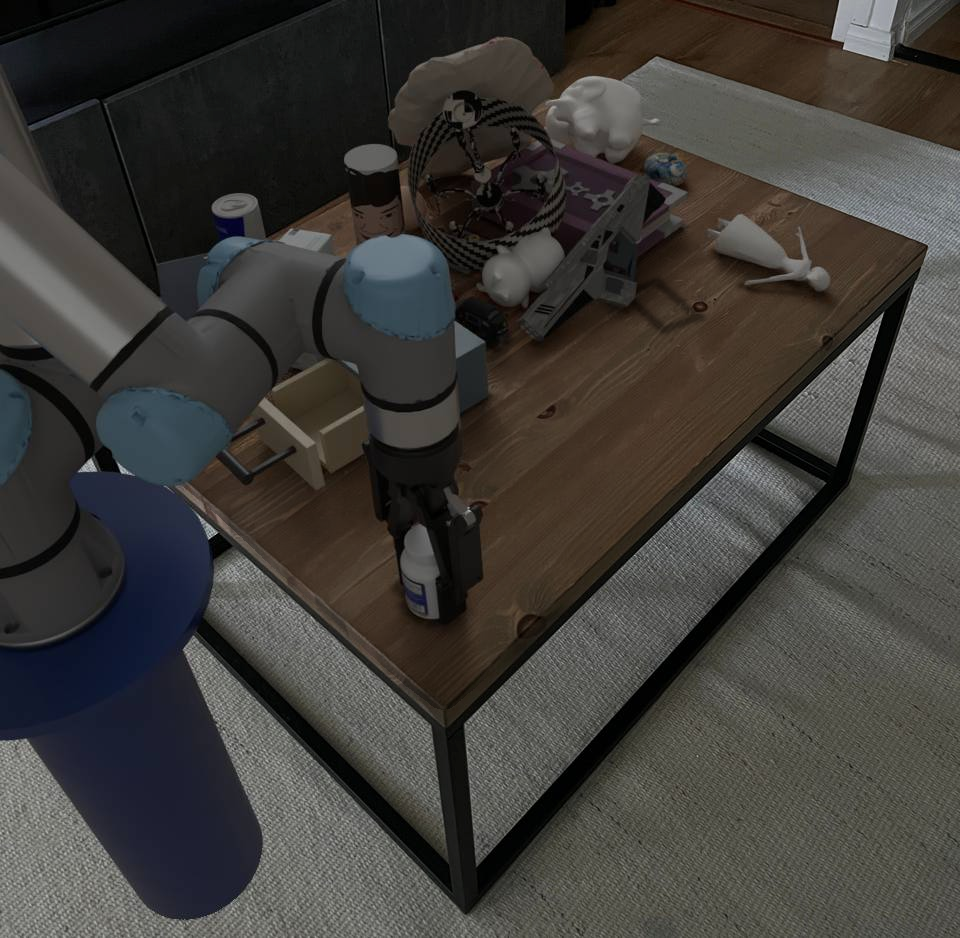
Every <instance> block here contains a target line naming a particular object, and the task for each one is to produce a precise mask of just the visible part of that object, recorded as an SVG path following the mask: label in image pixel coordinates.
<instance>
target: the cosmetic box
mask: <svg viewBox="0 0 960 938" xmlns="http://www.w3.org/2000/svg"><path fill="white" fill-rule="evenodd" d="M278 241H280V242H283V243H285V244H287V245H291V246H296V247H300V248H304V249H308V250H312V251H316V252H321V253H325V254H329V255H334V256H336V252H335V246H334V240H333V235H332V234H330V233H324V232H319V231H312V230H304V229H298V228H290V229H288V231H287V232H286V233H285V234H283V236H282V237H281V238H280V239H279V240H278ZM323 360H324V359H323V357H321V356H317V355H312V354H308V353H303V354H301V355H300V356H299V358H298V359H297V360H296V361H295V363H294V364H293V365H292V366H291V367H290V368H294V369H297V370H301V371H304V370H306V369H308V368H310V367H312V366H313V365H315V364H317V363H319V362H321V361H323Z"/></svg>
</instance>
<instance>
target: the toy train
mask: <svg viewBox="0 0 960 938" xmlns="http://www.w3.org/2000/svg"><path fill="white" fill-rule="evenodd" d="M452 294H453V297H454V301H455V305H456V309H455V319H454V321H456V322H457V320H459V321H460V322H463V325H462V326H463V327H465V328H466V329H468V330H469V331H471V332H472V333H473V334H475V335H476V336H477V335H479V336H481V339H482V340H484V341H485V342H486V346H488V347H489V348H493V347H494V346H495V345H496V344H498V345H500V346H501V345H502V344H504V343H505V342H506V341H507V340H509V339H510V328H509V321H508V318H507V314H505V313H503V312H502V311H501V309H500V307H497V306H495V305H493V304H491V303H489V302H487V301H485V300H482V299H481V298H479V297H477V296H475V295H473V296H472V295H470V296H468V297H467V298H466V297H465V295H463V296H461V297H460V296H459V295H458V294H457V293H456V292H455V290H454V289H453V288H452Z"/></svg>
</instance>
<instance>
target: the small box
mask: <svg viewBox="0 0 960 938" xmlns="http://www.w3.org/2000/svg"><path fill="white" fill-rule="evenodd" d="M208 254H209V252H206V253H202V254H196V255H193V256H188V257H183V258H178V259H174V260H168V261H165V262H161V263H157V264H155V269H156V275H157V281H158V287H159V292H160V299H161V300H162V301H163V302H164V303H165V304H166V305H167V306H169V307H170V308H171V309H172V310H173V311H174V312H176V313H177V314H178V315H179V316H180V317H181V318H183V319H184V320H185V321H187V320H188V319H189V318H190V317H191V316H192V315H193V314H194V313H195V312H196V311H197V310H198V309H199V304H198V298H197V284H198V278H199V274H200V270H201V269H202V268H203V267H205V266H206V264H207V255H208Z"/></svg>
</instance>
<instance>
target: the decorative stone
mask: <svg viewBox="0 0 960 938" xmlns="http://www.w3.org/2000/svg"><path fill="white" fill-rule="evenodd" d="M643 170H644V173H645V174H646V175H647V176H648V177H649V178H650V179H652V180H654V181H657V182H660V183H662V182H663V183H665V184H668V185H671V186H673V187H677V186H681V185H682V184H683V183H684V182H685V180H686V178H687V175H688V171H687V167H686V165H685V164H683V162H682V161H680V160H678V156H676V155H675V154H673V153H669V152H656V153H653V154H651V155H650V156H648V158H646V160H645V162H644V165H643Z"/></svg>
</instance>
